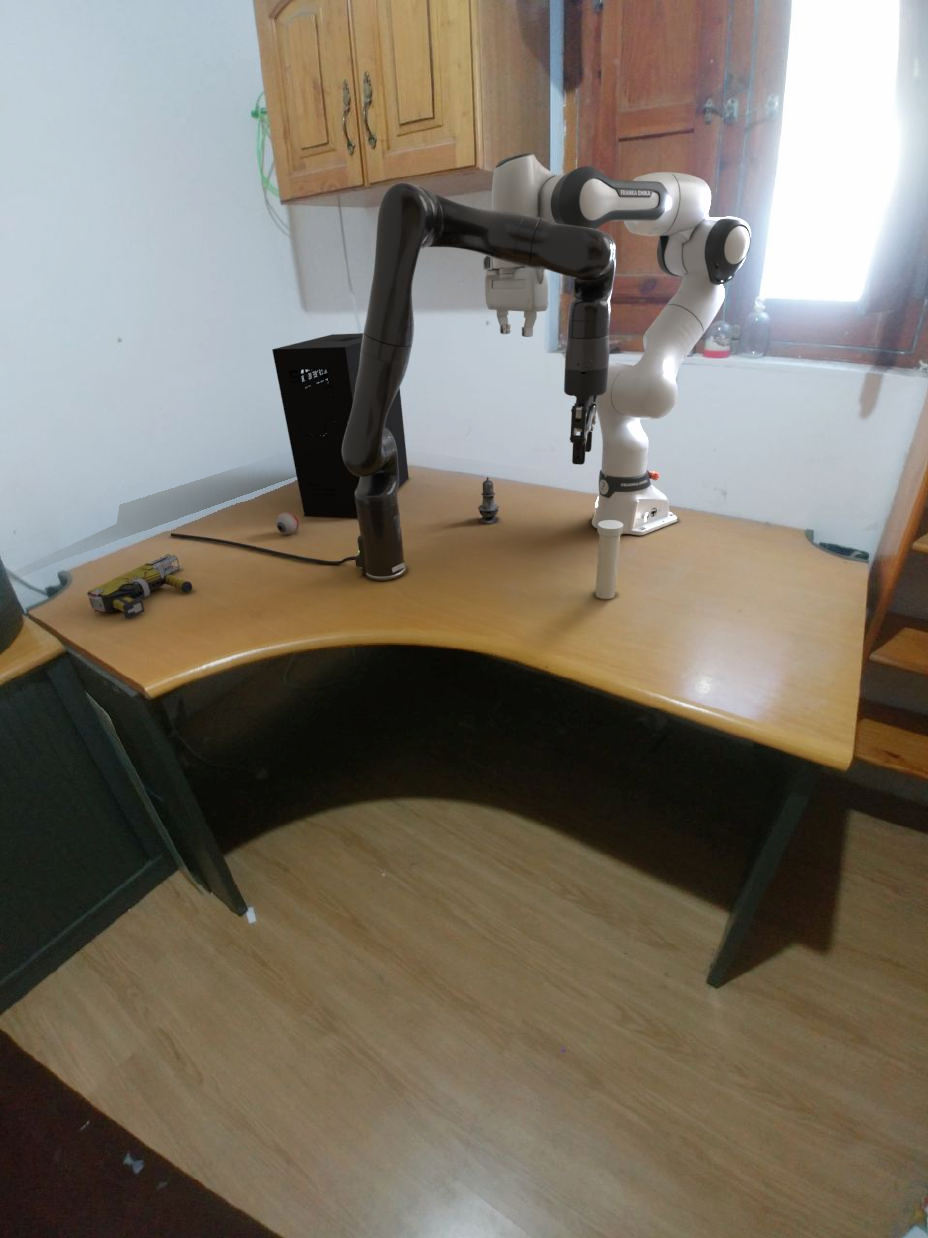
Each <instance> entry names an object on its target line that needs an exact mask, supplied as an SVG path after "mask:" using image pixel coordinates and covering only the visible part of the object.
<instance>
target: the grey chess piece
mask: <svg viewBox="0 0 928 1238" xmlns="http://www.w3.org/2000/svg"><path fill="white" fill-rule="evenodd" d="M495 495H496V493H495V492H494V482H493V481H492V480H490V478H489V477H486V480H484V481H483V482H482V492H481V497H482V503H481V504H480V505H479V506H478V507H477V510H478V512H479V514H480V516H482V517H480V518H479V522H480V523H483V524H494V523H497V522H498V521H499V517H498V516H497V515H498V513H499V510H500V505H498V504H496V503H495Z"/></svg>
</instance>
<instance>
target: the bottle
mask: <svg viewBox="0 0 928 1238" xmlns="http://www.w3.org/2000/svg"><path fill="white" fill-rule="evenodd" d="M598 535H599V537H598V550H597V566H596V567H597V568H596V583H595V596H596V597H597V598H598V599H601V600H611V599H613V598H615V597H616V590H617V579H618V566H619V555H620V543H621V535H619V536H615V537H607V536H602V535H600V534H598Z"/></svg>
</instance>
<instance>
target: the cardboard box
mask: <svg viewBox="0 0 928 1238" xmlns="http://www.w3.org/2000/svg"><path fill="white" fill-rule="evenodd" d="M362 339H363V332H362V333H361V332H359V333H340V334H339V333H333V334H328V335H324V336H320V337H315V338H312V339H308V340H305V341H300V342H296V343H292V344H288V345H284V346H281V347H276V348H272V350H271V351H272V356H273V361H274V367H275V371H276V377H277V381H278V387H279V393H280V397H281V404H282V407H283V412H284V418H285V423H286V428H287V429H286V430H287V433H288V438H289V444H290V449H291V454H292V460H293V464H294V470H295V474H296V480H297V485H298V490H299V495H300V500H301V505H302V510H303V511H302V512H303V516H304V517H329V518H356V519H358V516H357V509H356V502H355V490H356V488H357V486H358V483H359V480H360V477H359V476H356V475H354V474H352V473H351V472H350V471H349V470H348V469H347V467H346V466H345V464H344V461H343V458H342V444H343V439H344V435H345V432H346V428H347V425H348V421H349V417H350V413H351V409H352V405H353V400H354V393H355V386H356V379H357V373H358V367H359V360H360V352H361V345H362ZM302 371H303V372H302ZM403 417H404V416H403V406H402V397H401V387H400V388H399V390H398V392H397V394H396V396H395V398H394V400H393V402H392V404H391V406H390V408H389V411H388V414H387V417H386V422H385V428H387V429H388V430H389V431H390V433H391V434H392V436H393V438H394V440H395V443H396V448H397V456H398V470H399V487H398V490H399V489H400V488H401V487H402V486H403V485H404V484H405V483H406V482H407V481H408V480H409V479H410V478H409V477H410V476H409V468H408V467H409V466H408V457H407V447H406V436H405V427H404V418H403Z"/></svg>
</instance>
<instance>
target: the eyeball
mask: <svg viewBox="0 0 928 1238" xmlns="http://www.w3.org/2000/svg"><path fill="white" fill-rule="evenodd" d="M299 525H300V522H299V519H298V517H297V516H296V515H295V514H294V513H292V512H287V511H286V512H282V513H280V514H279V515H278V516H277V517H276V520H275V527H276V529H277V530H278V531H279V532H280V533H281V534H282V535H285V536H286V535H287V536H289V535H293V534H295V533H296V532H297V531H298V529H299Z"/></svg>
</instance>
